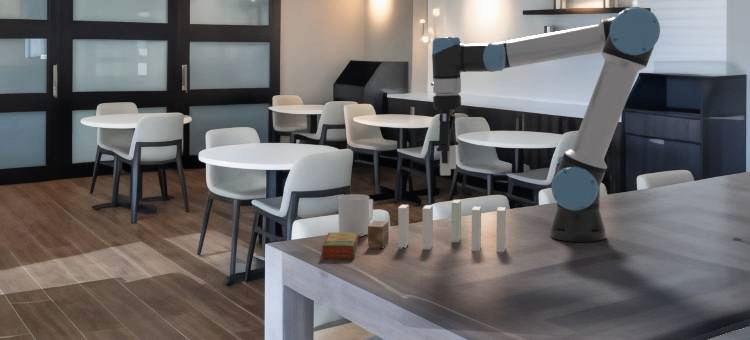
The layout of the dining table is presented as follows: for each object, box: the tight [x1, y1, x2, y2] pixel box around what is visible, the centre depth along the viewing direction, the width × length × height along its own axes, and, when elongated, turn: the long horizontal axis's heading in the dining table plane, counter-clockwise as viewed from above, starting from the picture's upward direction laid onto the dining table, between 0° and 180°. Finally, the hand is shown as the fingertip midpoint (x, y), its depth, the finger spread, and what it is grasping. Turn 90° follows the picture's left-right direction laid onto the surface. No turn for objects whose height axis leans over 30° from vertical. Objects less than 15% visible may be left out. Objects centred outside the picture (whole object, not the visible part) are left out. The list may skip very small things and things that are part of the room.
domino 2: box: [422, 204, 434, 250], centre depth 231 cm, size 2×5×11 cm, turn 168°
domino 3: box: [451, 199, 462, 243], centre depth 240 cm, size 2×5×11 cm, turn 168°
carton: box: [321, 231, 359, 260], centre depth 227 cm, size 8×16×4 cm, turn 177°
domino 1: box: [397, 204, 410, 249], centre depth 233 cm, size 2×5×11 cm, turn 168°
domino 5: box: [496, 206, 507, 253], centre depth 227 cm, size 2×5×11 cm, turn 168°
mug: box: [337, 193, 374, 236], centre depth 250 cm, size 12×9×11 cm
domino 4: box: [471, 206, 482, 252], centre depth 229 cm, size 2×5×11 cm, turn 168°
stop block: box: [367, 220, 390, 249], centre depth 234 cm, size 4×8×6 cm, turn 168°
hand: (448, 172), depth 238 cm, fingers open, 13 cm apart
